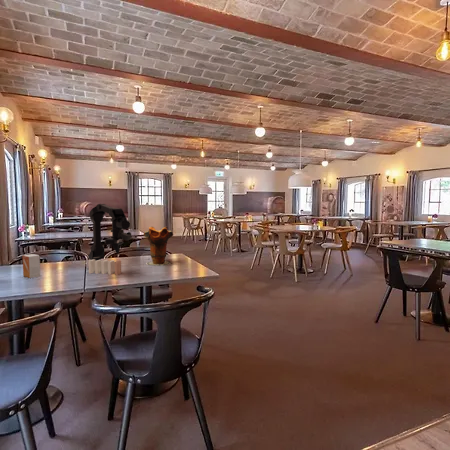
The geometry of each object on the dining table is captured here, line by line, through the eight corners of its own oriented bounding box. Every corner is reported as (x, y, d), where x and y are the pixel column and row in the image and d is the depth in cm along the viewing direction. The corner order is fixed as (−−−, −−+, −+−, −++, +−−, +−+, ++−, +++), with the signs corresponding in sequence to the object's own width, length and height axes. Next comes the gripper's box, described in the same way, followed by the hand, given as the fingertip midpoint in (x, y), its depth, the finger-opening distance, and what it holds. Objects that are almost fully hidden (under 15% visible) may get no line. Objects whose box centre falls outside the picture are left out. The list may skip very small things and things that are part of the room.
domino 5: (119, 272, 203) (118, 260, 202) (121, 272, 202) (121, 260, 202) (114, 274, 198) (114, 261, 197) (117, 274, 197) (116, 262, 197)
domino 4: (112, 272, 203) (112, 260, 203) (114, 272, 203) (114, 260, 203) (108, 274, 199) (107, 261, 198) (110, 274, 198) (110, 261, 198)
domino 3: (106, 272, 204) (105, 259, 204) (108, 272, 204) (108, 260, 203) (101, 274, 199) (101, 261, 199) (104, 274, 199) (103, 261, 198)
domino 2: (99, 271, 205) (99, 259, 204) (102, 272, 205) (101, 259, 204) (95, 273, 200) (94, 261, 200) (97, 273, 200) (97, 261, 199)
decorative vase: (170, 258, 248) (169, 223, 245) (175, 266, 227) (174, 227, 223) (142, 260, 242) (141, 224, 238) (145, 268, 220) (144, 228, 216)
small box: (23, 276, 193) (22, 255, 192) (34, 274, 198) (33, 253, 197) (29, 278, 188) (28, 256, 187) (40, 276, 194) (39, 255, 193)
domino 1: (93, 271, 206) (93, 259, 205) (95, 271, 206) (95, 259, 205) (88, 273, 201) (88, 260, 200) (91, 273, 201) (90, 260, 200)
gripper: (121, 230, 187) (122, 256, 188) (135, 227, 205) (136, 251, 207) (104, 229, 189) (104, 255, 190) (120, 227, 208) (120, 250, 209)
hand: (117, 253), depth 199 cm, fingers closed
